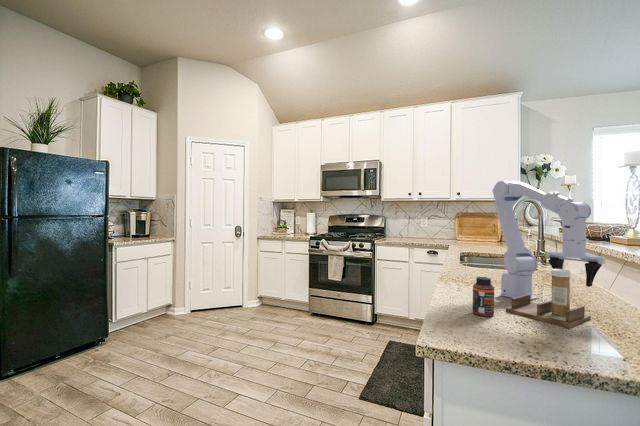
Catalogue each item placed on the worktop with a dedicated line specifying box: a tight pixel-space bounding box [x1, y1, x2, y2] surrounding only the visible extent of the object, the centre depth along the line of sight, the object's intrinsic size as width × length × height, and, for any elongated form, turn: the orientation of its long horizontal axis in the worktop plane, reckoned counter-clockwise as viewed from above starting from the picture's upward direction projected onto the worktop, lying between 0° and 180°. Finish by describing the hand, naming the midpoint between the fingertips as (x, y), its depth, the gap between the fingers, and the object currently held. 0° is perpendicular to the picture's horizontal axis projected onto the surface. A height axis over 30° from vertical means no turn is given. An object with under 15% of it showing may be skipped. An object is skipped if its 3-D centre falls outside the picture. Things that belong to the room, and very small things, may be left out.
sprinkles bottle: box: [550, 268, 571, 316], centre depth 93 cm, size 5×5×14 cm
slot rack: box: [505, 294, 592, 329], centre depth 96 cm, size 17×14×4 cm
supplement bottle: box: [472, 276, 495, 318], centre depth 96 cm, size 6×6×11 cm
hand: (573, 283), depth 97 cm, fingers open, 7 cm apart
